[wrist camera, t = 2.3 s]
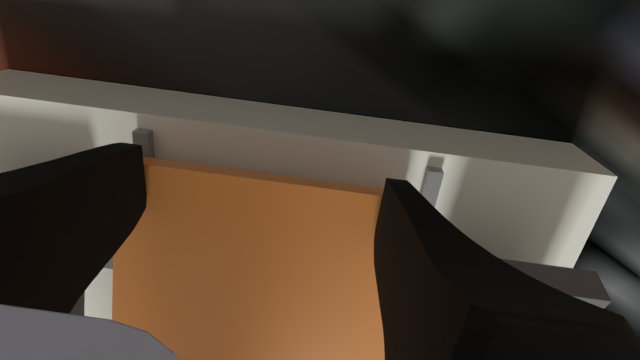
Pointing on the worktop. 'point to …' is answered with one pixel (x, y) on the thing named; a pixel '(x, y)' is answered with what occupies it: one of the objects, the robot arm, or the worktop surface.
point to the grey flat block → (567, 281)
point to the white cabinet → (319, 158)
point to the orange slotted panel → (251, 266)
